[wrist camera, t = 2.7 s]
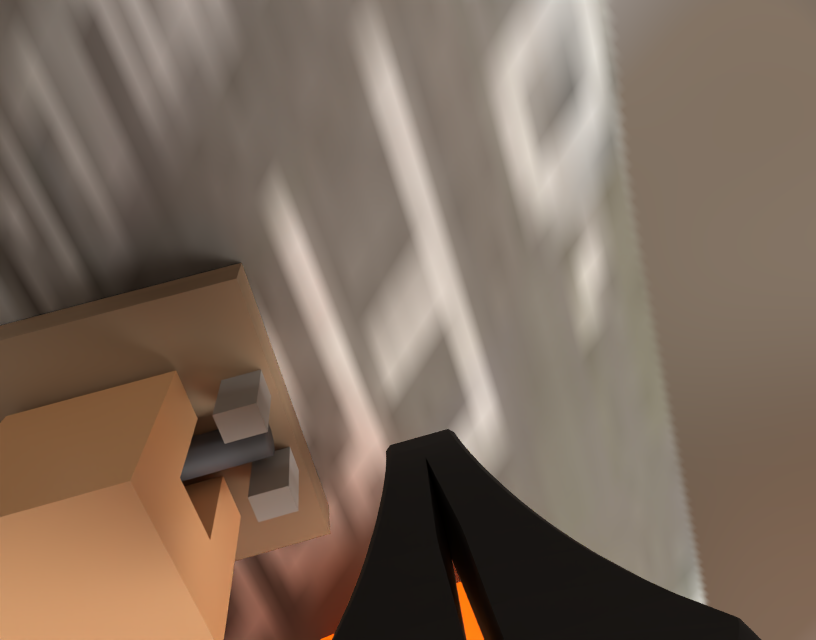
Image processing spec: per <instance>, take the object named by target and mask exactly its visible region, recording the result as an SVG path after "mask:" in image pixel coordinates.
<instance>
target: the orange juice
mask: <svg viewBox="0 0 816 640" xmlns="http://www.w3.org/2000/svg"><path fill="white" fill-rule="evenodd" d="M456 585H457V590H458V595H459V601H460V606H461V612H462V617H463V622H464V628H465V633H466V639H467V640H484V638H483V636H482V633H481V631H480V628H479V626H478V623H477V621H476V618H475V616H474V613H473V611H472V608H471V606H470V603H469V601H468V598H467V596H466V593H465V591H464V588H463V586H462V583H461V582H459V583H456ZM333 636H334V634H333V635H330V636H328V637H325V638H323V639H320V640H332V638H333Z"/></svg>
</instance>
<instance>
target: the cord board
mask: <svg viewBox="0 0 816 640" xmlns="http://www.w3.org/2000/svg"><path fill="white" fill-rule="evenodd" d="M172 371H177V373H178V376H179V378H180V380H181V382H182V385H183V387H184V389H185V391H186V394H187V396H188V398H189V400H190V403H191V405H192V407H193V409H194V412H195V414H196V416H197V418H198V419H197V423H196V426H195V429H194V433H193V436H192V439H191V443H190V446H189V449H188V453H187V456H186V459H185V463H184V466H183V470H182V473H181V476H180V479H181V481H182V483H183V485H184V486H188V485H191V484H195V483H198V482H202V481H206V480H209V479H213V478H216V477H220V476H223V477H224V479H225V481H226V484H227V486H228V488H229V491H230V493H231V495H232V497H233V500H234V502H235V504H236V506H237V509H238V511H239V513H240V515H241V519H240V526H239V533H238V541H237V548H236V555H235V561H238V560H241V559H244V558H248V557H251V556H255V555H258V554H262V553H265V552H269V551H272V550H276V549H279V548H283V547H286V546H289V545H293V544H296V543H300V542H303V541H307V540H310V539H314V538H317V537H321V536H324V535H327V534H330V523H329V505H328V503H327V500H326V497H325V494H324V491H323V489H322V486H321V483H320V480H319V478H318V475H317V472H316V469H315V466H314V464H313V461H312V458H311V455H310V452H309V450H308V447H307V444H306V441H305V438H304V436H303V433H302V430H301V427H300V425H299V422H298V419H297V416H296V413H295V411H294V408H293V405H292V402H291V399H290V397H289V394H288V391H287V388H286V385H285V383H284V380H283V377H282V374H281V372H280V369H279V366H278V363H277V360H276V358H275V355H274V352H273V349H272V346H271V344H270V341H269V338H268V335H267V332H266V330H265V327H264V324H263V321H262V318H261V316H260V313H259V310H258V307H257V305H256V302H255V299H254V296H253V293H252V291H251V288H250V285H249V282H248V279H247V277H246V274H245V271H244V268H243V265H242V263H239V264H235V265H231V266H227V267H223V268H219V269H215V270H212V271H208V272H204V273H200V274H196V275H192V276H189V277H185V278H181V279H177V280H173V281H169V282H166V283H162V284H158V285H154V286H150V287H146V288H143V289H139V290H135V291H131V292H127V293H123V294H120V295H116V296H112V297H108V298H104V299H100V300H96V301H93V302H89V303H85V304H81V305H77V306H73V307H70V308H66V309H62V310H58V311H54V312H50V313H47V314H43V315H39V316H35V317H31V318H27V319H24V320H20V321H16V322H12V323H8V324H4V325H1V326H0V423H1V421H2V420H3V419H4V418H5V417H6V416H9V415H12V414H16V413H20V412H23V411H27V410H31V409H35V408H38V407H42V406H46V405H49V404H53V403H57V402H61V401H64V400H68V399H72V398H75V397H79V396H83V395H87V394H90V393H94V392H98V391H101V390H105V389H109V388H113V387H116V386H120V385H124V384H127V383H131V382H135V381H139V380H142V379H146V378H150V377H153V376H157V375H161V374H165V373H168V372H172Z"/></svg>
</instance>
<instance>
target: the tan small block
mask: <svg viewBox="0 0 816 640" xmlns="http://www.w3.org/2000/svg"><path fill="white" fill-rule="evenodd" d="M197 419H198V418H197V416H196V414H195V412H194V409H193V407H192V405H191V403H190V400H189V398H188V396H187V394H186V391H185V389H184V387H183V385H182V382H181V380H180V378H179V376H178V373H177V371H172V372H168V373H165V374H161V375H157V376H153V377H150V378H146V379H142V380H139V381H135V382H131V383H127V384H124V385H120V386H116V387H113V388H109V389H105V390H101V391H98V392H94V393H90V394H87V395H83V396H79V397H75V398H72V399H68V400H64V401H61V402H57V403H53V404H49V405H46V406H42V407H38V408H35V409H31V410H27V411H23V412H20V413H16V414H12V415H9V416H6V417H5V418H4V419H3V420H2V421H1V423H0V640H224V634H225V627H226V620H227V613H228V605H229V598H230V591H231V584H232V577H233V569H234V562H235V555H236V548H237V541H238V533H239V526H240V519H241V515H240V513H239V511H238V509H237V506H236V504H235V502H234V500H233V497H232V495H231V493H230V491H229V488H228V486H227V484H226V481H225V479H224V477H223V476H220V477H216V478H213V479H209V480H206V481H202V482H198V483H195V484H191V485H188V486H184V485H183V483H182V481H181V479H180V476H181V473H182V470H183V466H184V463H185V459H186V456H187V453H188V449H189V446H190V443H191V439H192V436H193V433H194V429H195V426H196V423H197Z"/></svg>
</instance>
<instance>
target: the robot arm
mask: <svg viewBox="0 0 816 640" xmlns="http://www.w3.org/2000/svg"><path fill="white" fill-rule="evenodd" d="M452 560H453V563H454V565H455V568H456V571H457V573H458V576H459V578H460V581H461V583H462V586H463V588H464V591H465V593H466V596H467V598H468V601H469V603H470V606H471V608H472V611H473V613H474V616H475V618H476V621H477V623H478V626H479V628H480V631H481V633H482V636H483V638H484V640H761V639H760V638H759V637H758V636H757V635H756V634H755V633H754V632H753V631H752V630H751V629H750V628H749V627H748V626H747V625H746V624H745V623H744V622H743V621H742V620H741V619H740V618H737V617H735V616H733V615H730V614H727V613H725V612H722V611H719V610H717V609H714V608H712V607H709V606H706V605H704V604H701V603H699V602H696V601H693V600H691V599H688V598H685V597H683V596H680V595H678V594H675V593H673V592H671V591H668V590H666V589H664V588H662V587H660V586H658V585H655V584H653V583H651V582H649V581H647V580H645V579H643V578H641V577H639V576H637V575H635V574H633V573H631V572H630V571H628V570H626V569H624V568H622V567H620V566H618V565H617V564H615V563H613V562H611V561H609V560H607V559H605V558H603V557H602V556H600V555H598V554H596V553H595V552H593V551H591V550H590V549H588V548H586V547H585V546H583V545H582V544H580V543H578V542H577V541H575V540H574V539H572V538H571V537H569V536H568V535H566V534H565V533H563V532H562V531H560V530H559V529H557V528H556V527H554V526H553V525H551V524H550V523H549V522H547V521H546V520H545V519H543V518H542V517H541V516H539V515H538V514H537V513H535V512H534V511H533V510H532V509H530V508H529V507H528V506H527V505H525V504H524V503H523V502H522V501H520V500H519V499H518V498H517V497H516V496H514V495H513V494H512V493H511V492H510V491H509V490H507V489H506V488H505V487H504V486H503V485H502V484H501V483H500V482H499V481H498V480H497V479H496V478H495V477H493V476H492V475H491V474H490V473H489V472H488V471H487V470H486V469H485V468H484V467H483V466H482V465H481V464H480V463H479V462H478V461H477V460H476V458H475V457H474V456H473V455H472V454H471V453H470V452H469V451H468V450H467V449H466V447H465V446H464V445H463V444H462V442H461V441H460V440H459V439H458V437H457V436H456V434H455V433H454V432H453V431H451V430H449V429H447V430H443V431H439V432H436V433H432V434H429V435H425V436H422V437H418V438H414V439H411V440H407V441H404V442H400V443H397V444H393V445H390V446H389V448H388V449H387V451H386V472H385V480H384V487H383V493H382V497H381V502H380V507H379V511H378V516H377V520H376V524H375V528H374V531H373V535H372V538H371V542H370V545H369V548H368V552H367V555H366V558H365V561H364V564H363V567H362V570H361V573H360V576H359V578H358V581H357V583H356V586H355V588H354V591H353V593H352V596H351V598H350V601H349V603H348V606H347V608H346V610H345V612H344V614H343V616H342V619H341V621H340V623H339V625H338V627H337V630H336V632H335V634H334V636H333V638H332V640H467V639H466V633H465V628H464V622H463V617H462V612H461V606H460V601H459V595H458V590H457V585H456V579H455V574H454V569H453V563H452Z"/></svg>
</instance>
